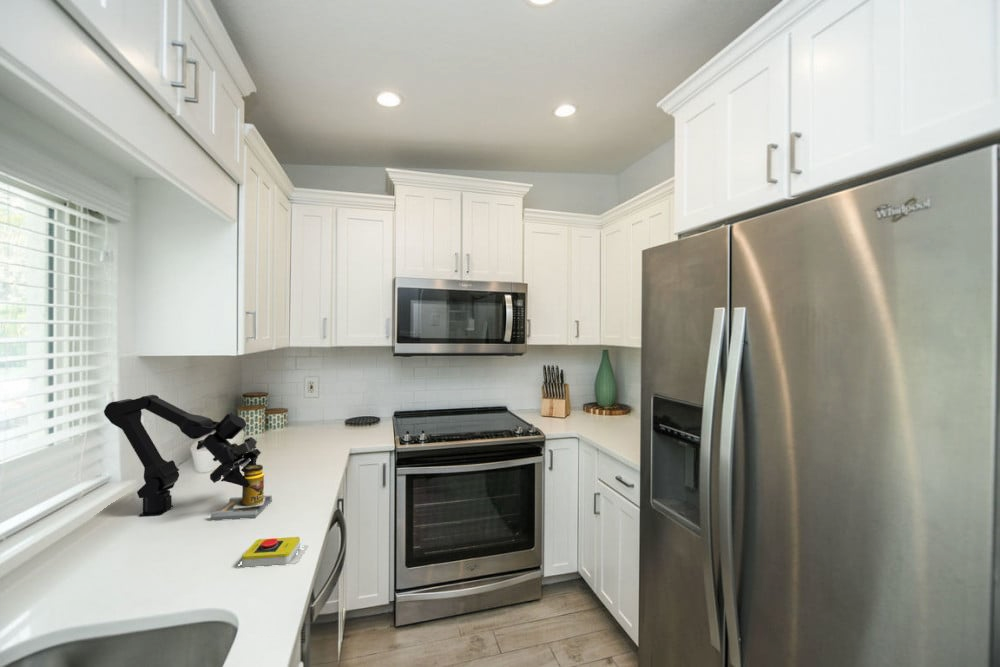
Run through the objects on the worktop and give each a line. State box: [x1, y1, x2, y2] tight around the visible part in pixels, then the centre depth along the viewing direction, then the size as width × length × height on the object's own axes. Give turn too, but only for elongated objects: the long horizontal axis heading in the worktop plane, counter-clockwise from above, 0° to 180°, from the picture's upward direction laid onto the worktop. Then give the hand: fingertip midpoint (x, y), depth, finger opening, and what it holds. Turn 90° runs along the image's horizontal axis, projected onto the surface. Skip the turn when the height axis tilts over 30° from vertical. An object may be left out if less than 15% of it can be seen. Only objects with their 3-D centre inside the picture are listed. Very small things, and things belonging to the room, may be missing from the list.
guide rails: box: [210, 494, 273, 518], centre depth 136 cm, size 13×12×1 cm
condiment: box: [233, 464, 265, 509], centre depth 136 cm, size 7×8×12 cm
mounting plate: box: [210, 498, 273, 521], centre depth 136 cm, size 13×13×1 cm
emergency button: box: [235, 536, 309, 569], centre depth 108 cm, size 9×4×15 cm
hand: (254, 482), depth 136 cm, fingers closed on condiment, 6 cm apart
